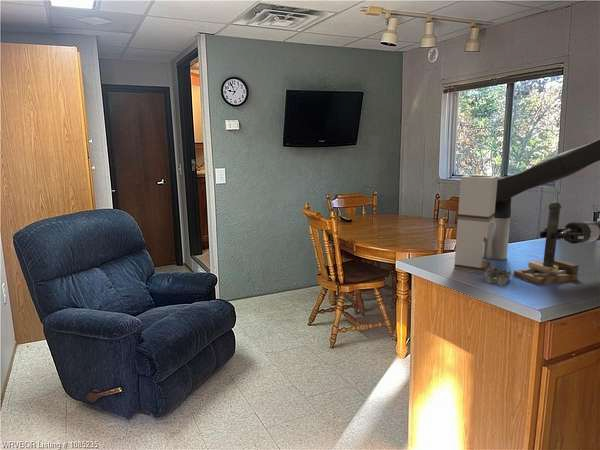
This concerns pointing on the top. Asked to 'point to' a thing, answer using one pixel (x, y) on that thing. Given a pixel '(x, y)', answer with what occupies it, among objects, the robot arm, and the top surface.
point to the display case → (474, 221)
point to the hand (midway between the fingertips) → (545, 235)
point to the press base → (564, 273)
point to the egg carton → (497, 275)
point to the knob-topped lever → (549, 242)
